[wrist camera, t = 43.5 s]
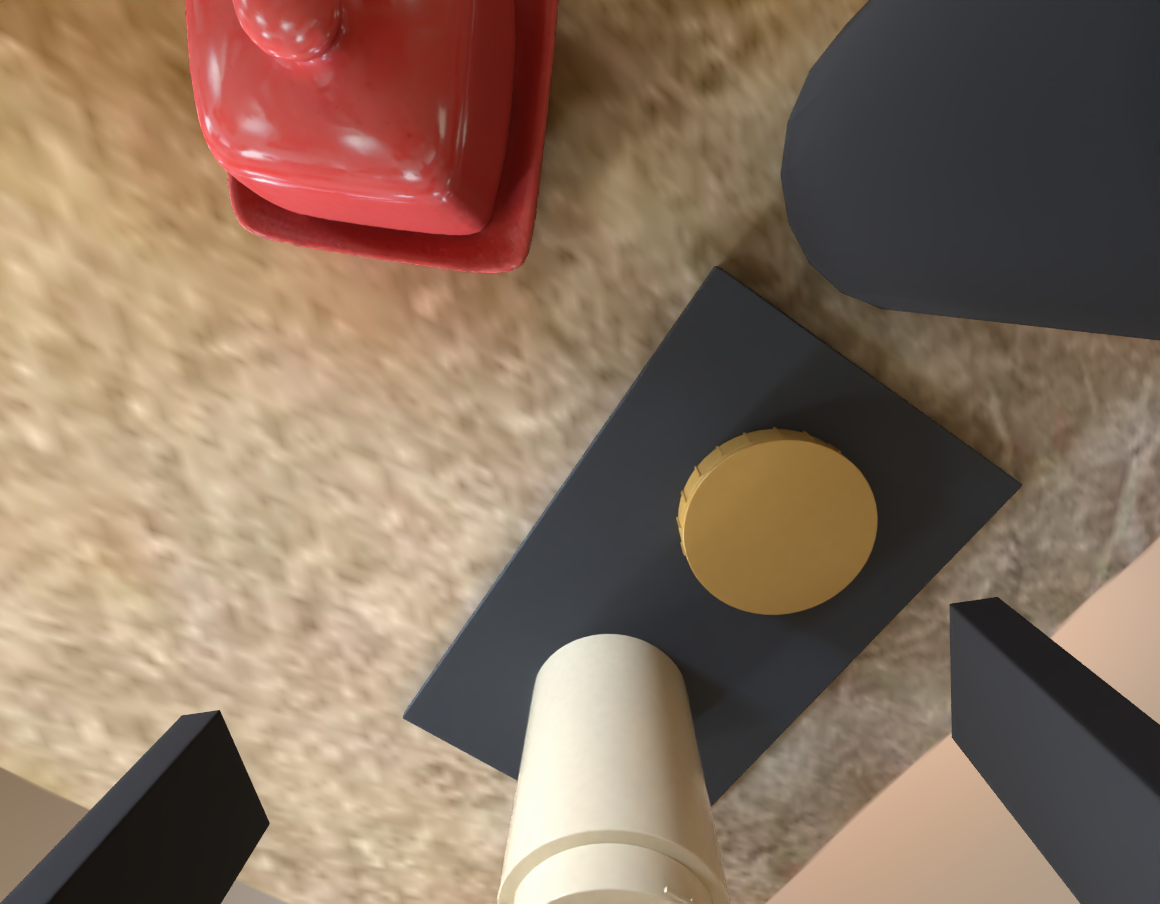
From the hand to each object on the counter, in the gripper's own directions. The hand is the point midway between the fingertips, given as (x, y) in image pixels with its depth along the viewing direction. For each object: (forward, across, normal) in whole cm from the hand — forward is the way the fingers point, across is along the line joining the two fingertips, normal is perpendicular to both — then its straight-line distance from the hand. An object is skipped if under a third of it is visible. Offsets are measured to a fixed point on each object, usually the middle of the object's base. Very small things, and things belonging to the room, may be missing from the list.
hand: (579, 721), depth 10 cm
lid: (+14, +7, -4) cm, 16 cm away
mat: (+16, +3, -8) cm, 18 cm away
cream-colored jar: (+15, -1, -12) cm, 19 cm away
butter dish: (+16, -4, +15) cm, 22 cm away
